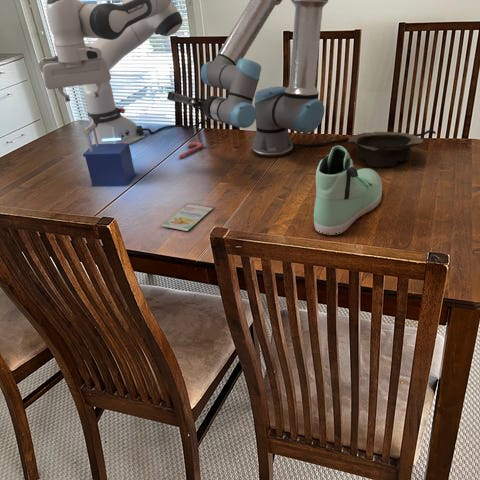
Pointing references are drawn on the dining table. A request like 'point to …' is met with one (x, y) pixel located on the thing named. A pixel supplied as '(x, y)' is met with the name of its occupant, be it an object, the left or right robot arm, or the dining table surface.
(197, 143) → the candy cane
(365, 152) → the stone bowl
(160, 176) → the dining table surface
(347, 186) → the sneaker
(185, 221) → the baking ingredient package
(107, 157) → the chest
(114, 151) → the lid
